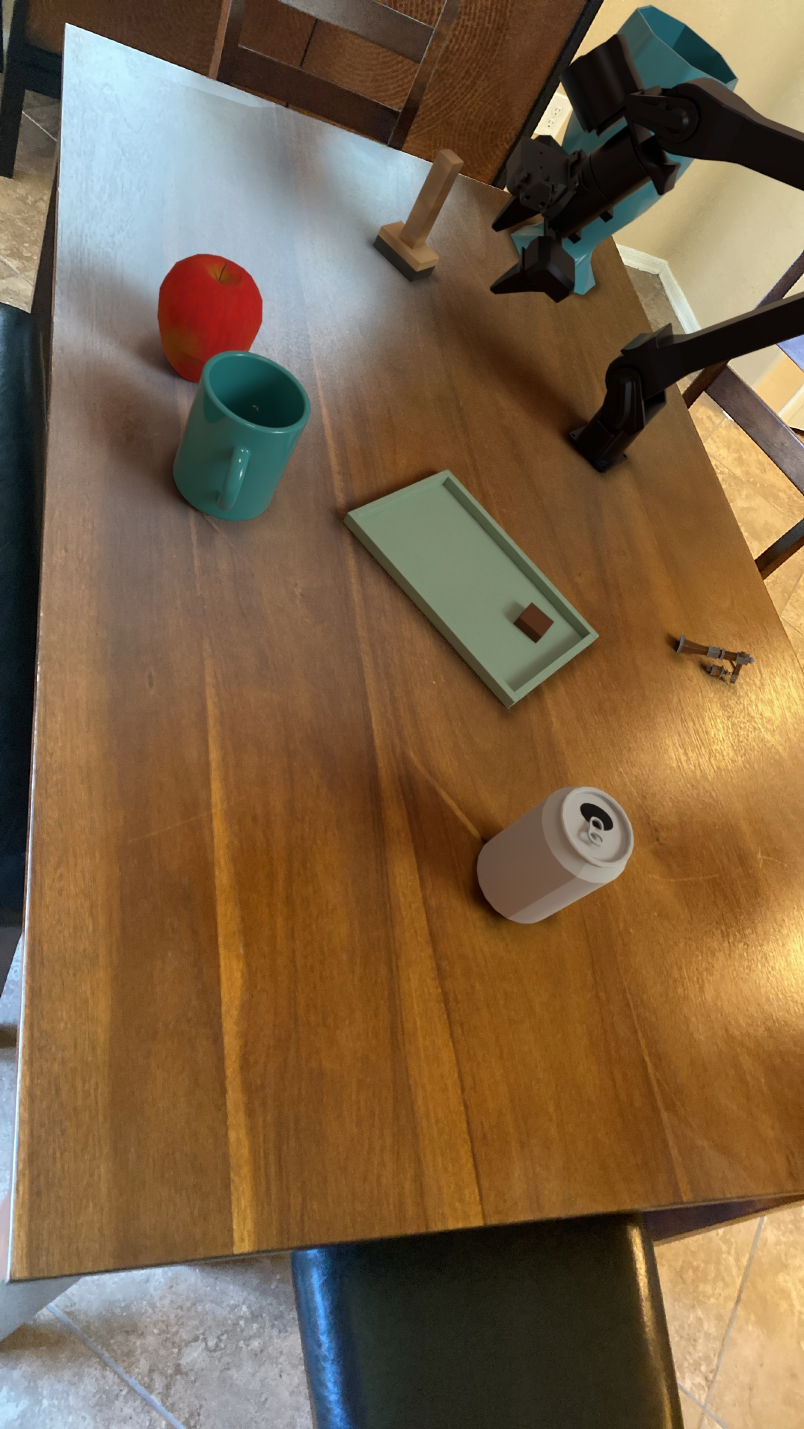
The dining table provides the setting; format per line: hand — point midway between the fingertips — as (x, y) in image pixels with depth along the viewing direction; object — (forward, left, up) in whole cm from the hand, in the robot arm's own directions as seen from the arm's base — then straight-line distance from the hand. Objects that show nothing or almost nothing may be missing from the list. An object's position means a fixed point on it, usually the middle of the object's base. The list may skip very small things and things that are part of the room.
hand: (492, 259), depth 102 cm
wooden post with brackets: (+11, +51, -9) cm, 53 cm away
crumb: (+29, +37, -9) cm, 48 cm away
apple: (+40, -3, -9) cm, 41 cm away
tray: (+31, +30, -9) cm, 44 cm away
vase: (-32, -7, -9) cm, 34 cm away
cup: (+48, +11, -9) cm, 50 cm away
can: (+51, +53, -9) cm, 74 cm away
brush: (-1, -12, -9) cm, 15 cm away
